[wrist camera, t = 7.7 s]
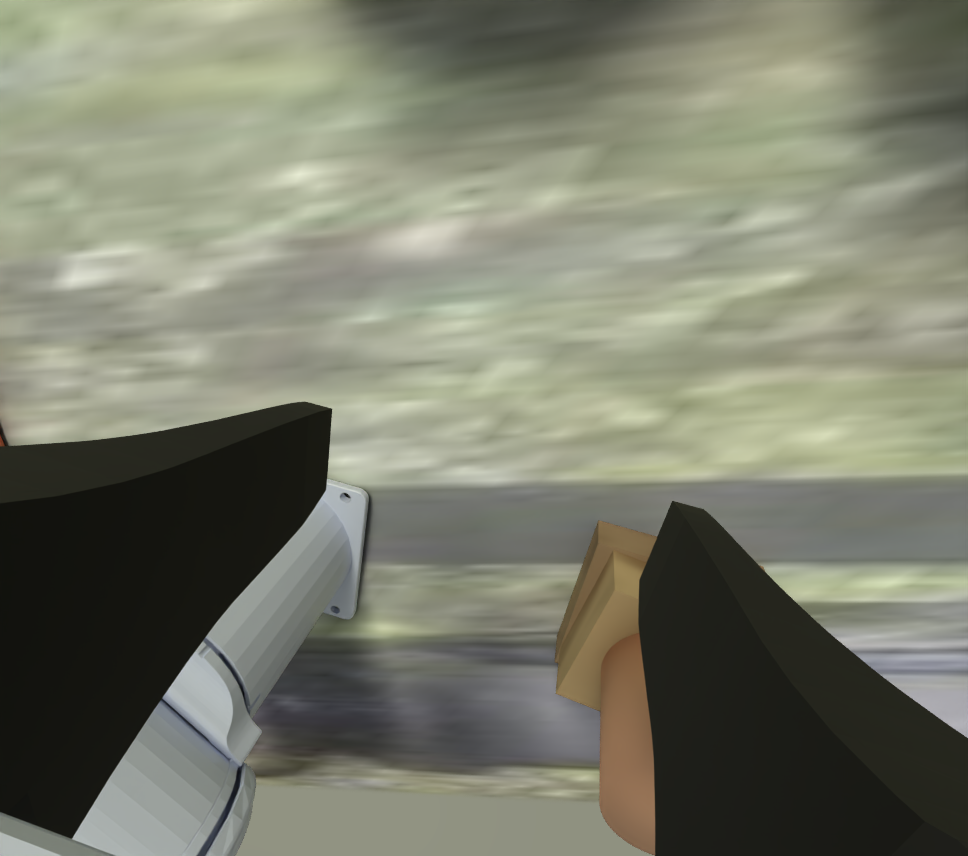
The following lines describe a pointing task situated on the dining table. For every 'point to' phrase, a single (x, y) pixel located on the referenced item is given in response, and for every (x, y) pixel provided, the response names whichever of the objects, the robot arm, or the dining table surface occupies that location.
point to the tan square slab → (602, 566)
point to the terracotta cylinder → (626, 746)
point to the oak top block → (599, 629)
